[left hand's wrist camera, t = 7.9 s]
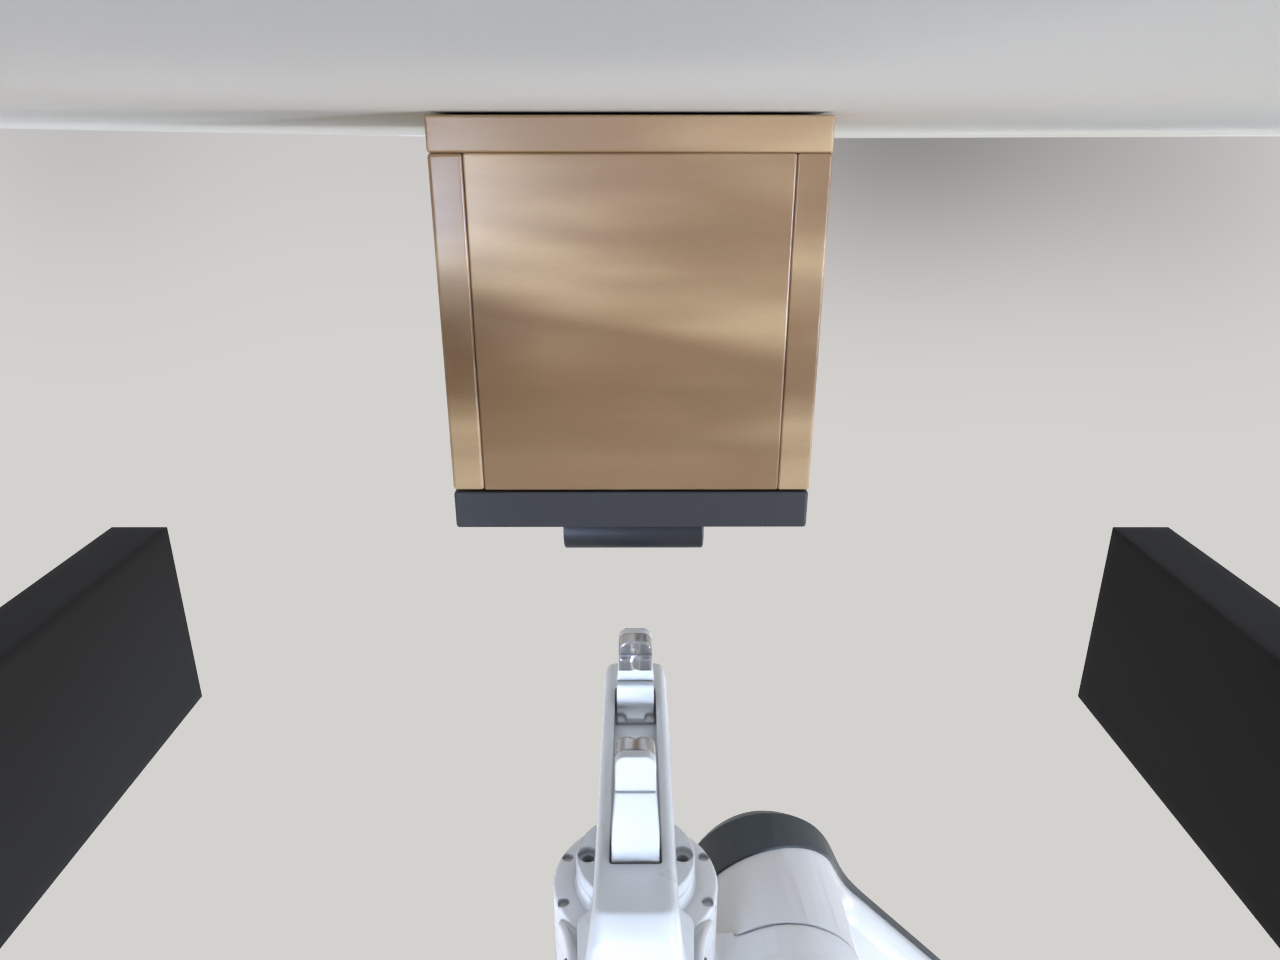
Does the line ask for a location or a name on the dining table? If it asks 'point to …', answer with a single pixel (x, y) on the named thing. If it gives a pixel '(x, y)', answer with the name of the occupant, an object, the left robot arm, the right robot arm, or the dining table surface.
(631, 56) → the dining table surface
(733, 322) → the chest
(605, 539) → the lid
